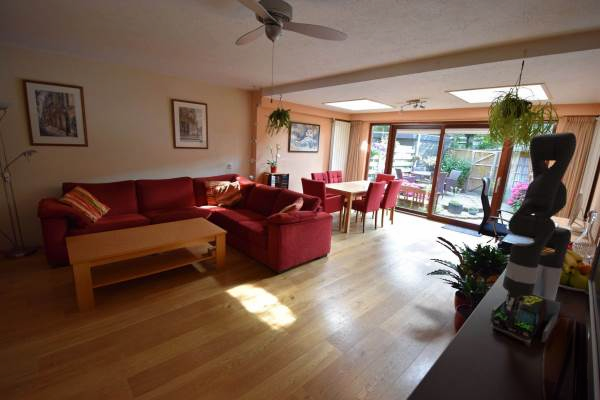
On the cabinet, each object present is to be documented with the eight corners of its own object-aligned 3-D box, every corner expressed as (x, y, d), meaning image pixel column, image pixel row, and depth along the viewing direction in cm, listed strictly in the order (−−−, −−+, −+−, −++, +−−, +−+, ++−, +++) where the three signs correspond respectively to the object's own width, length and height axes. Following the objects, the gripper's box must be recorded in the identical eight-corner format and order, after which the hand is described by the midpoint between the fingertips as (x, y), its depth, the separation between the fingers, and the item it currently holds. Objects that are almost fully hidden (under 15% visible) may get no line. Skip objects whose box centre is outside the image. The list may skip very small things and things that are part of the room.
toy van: (489, 331, 92) (494, 305, 90) (510, 308, 107) (514, 285, 105) (528, 350, 84) (535, 321, 82) (545, 322, 99) (551, 297, 97)
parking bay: (506, 303, 111) (510, 285, 109) (556, 322, 99) (560, 303, 97) (490, 318, 99) (494, 299, 98) (544, 342, 87) (549, 320, 86)
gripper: (511, 268, 90) (502, 314, 93) (498, 276, 82) (488, 327, 85) (540, 276, 84) (529, 326, 87) (529, 287, 76) (517, 341, 79)
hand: (509, 326), depth 86 cm, fingers closed
